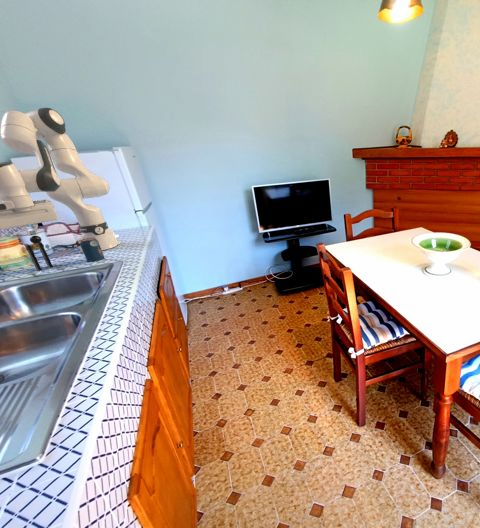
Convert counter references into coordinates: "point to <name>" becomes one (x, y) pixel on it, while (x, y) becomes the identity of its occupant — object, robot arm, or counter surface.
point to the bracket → (35, 257)
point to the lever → (35, 242)
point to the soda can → (91, 249)
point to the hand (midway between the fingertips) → (33, 234)
